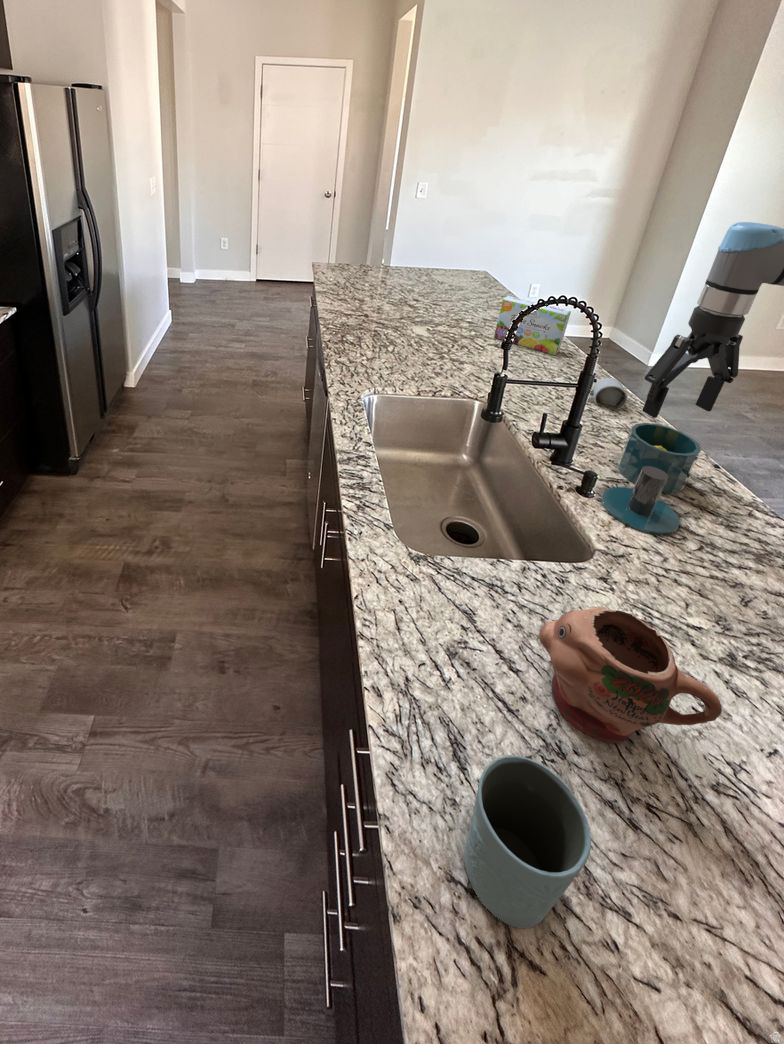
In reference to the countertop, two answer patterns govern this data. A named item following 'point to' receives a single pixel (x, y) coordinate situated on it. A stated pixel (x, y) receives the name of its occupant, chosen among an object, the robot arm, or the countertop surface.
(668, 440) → the pot
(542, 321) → the snack box
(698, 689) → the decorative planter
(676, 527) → the lid
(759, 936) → the countertop surface
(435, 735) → the countertop surface
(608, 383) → the ceramic mug
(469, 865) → the teal cup
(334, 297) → the countertop surface
